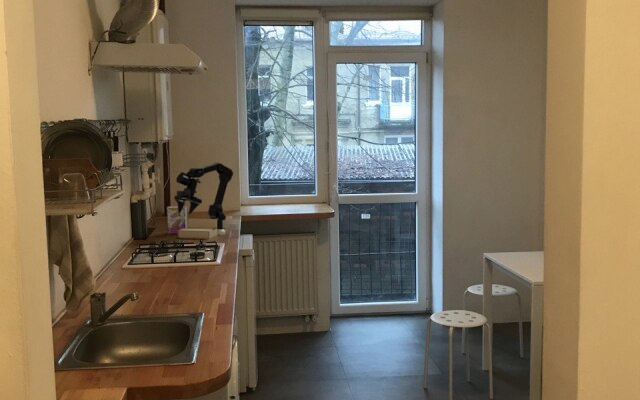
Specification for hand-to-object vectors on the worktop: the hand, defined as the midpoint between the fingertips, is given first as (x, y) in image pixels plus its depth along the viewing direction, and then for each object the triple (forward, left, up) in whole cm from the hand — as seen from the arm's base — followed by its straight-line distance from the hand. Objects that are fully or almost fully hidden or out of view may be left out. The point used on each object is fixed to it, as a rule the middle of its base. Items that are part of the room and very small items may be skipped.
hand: (184, 213), depth 398 cm
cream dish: (-8, +18, -14) cm, 24 cm away
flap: (-5, +9, -6) cm, 12 cm away
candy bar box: (-7, -9, -14) cm, 18 cm away
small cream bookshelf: (+2, +9, -14) cm, 16 cm away
